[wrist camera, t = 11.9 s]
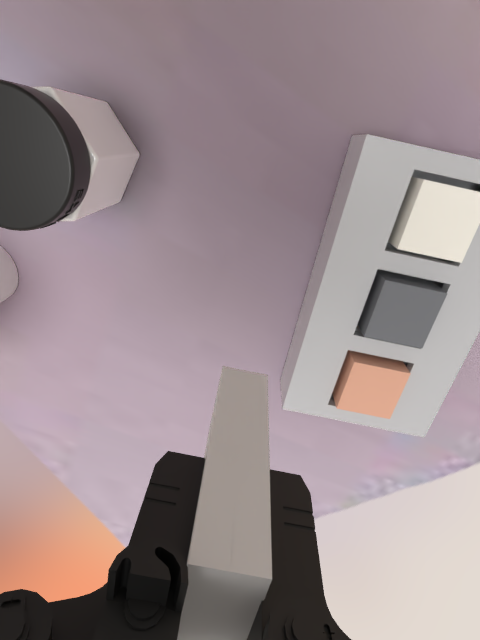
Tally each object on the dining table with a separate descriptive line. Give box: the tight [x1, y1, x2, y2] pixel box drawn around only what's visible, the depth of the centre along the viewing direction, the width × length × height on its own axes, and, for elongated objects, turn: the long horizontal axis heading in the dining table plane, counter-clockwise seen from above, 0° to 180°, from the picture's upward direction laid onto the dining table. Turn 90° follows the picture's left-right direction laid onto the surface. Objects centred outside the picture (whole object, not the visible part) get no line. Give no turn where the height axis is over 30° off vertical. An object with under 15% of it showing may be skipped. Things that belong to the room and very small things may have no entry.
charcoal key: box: [358, 269, 448, 348], centre depth 32 cm, size 5×5×3 cm
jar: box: [0, 80, 140, 231], centre depth 28 cm, size 9×8×12 cm
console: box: [280, 134, 480, 437], centre depth 34 cm, size 24×14×5 cm, turn 168°
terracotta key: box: [332, 350, 411, 419], centre depth 36 cm, size 5×5×3 cm
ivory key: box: [388, 177, 480, 263], centre depth 29 cm, size 5×5×3 cm
